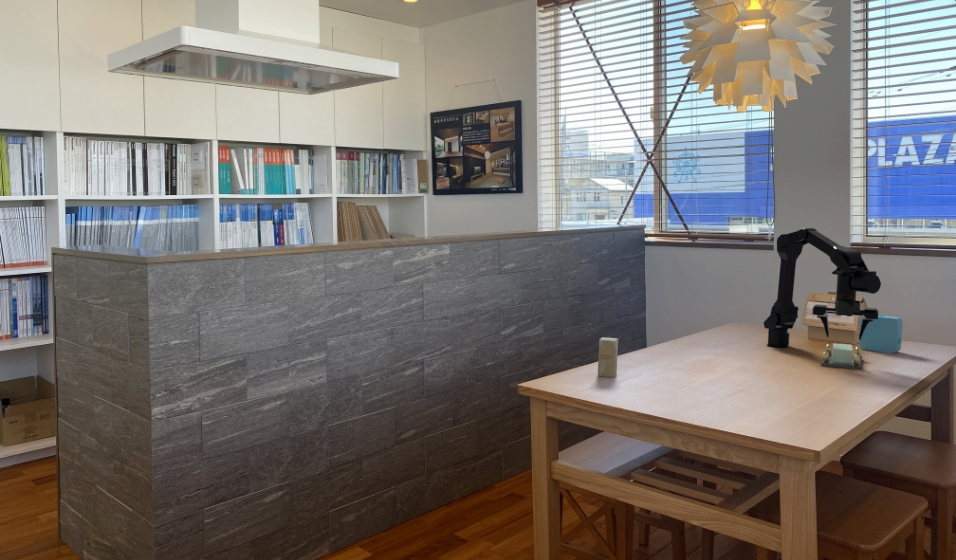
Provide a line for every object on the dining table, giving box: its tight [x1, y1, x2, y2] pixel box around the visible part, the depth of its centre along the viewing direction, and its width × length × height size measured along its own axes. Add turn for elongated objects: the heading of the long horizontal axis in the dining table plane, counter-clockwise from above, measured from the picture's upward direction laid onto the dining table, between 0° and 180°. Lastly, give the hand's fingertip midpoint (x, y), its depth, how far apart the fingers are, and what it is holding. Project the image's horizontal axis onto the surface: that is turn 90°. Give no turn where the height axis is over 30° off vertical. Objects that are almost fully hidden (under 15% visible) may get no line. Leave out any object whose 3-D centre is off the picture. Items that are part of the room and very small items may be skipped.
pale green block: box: [832, 343, 854, 363], centre depth 246 cm, size 6×10×4 cm, turn 156°
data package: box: [858, 314, 904, 354], centre depth 264 cm, size 12×4×12 cm, turn 44°
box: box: [597, 336, 619, 378], centre depth 227 cm, size 5×4×11 cm
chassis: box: [820, 344, 863, 371], centre depth 246 cm, size 11×17×4 cm, turn 152°
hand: (843, 338), depth 245 cm, fingers open, 9 cm apart
